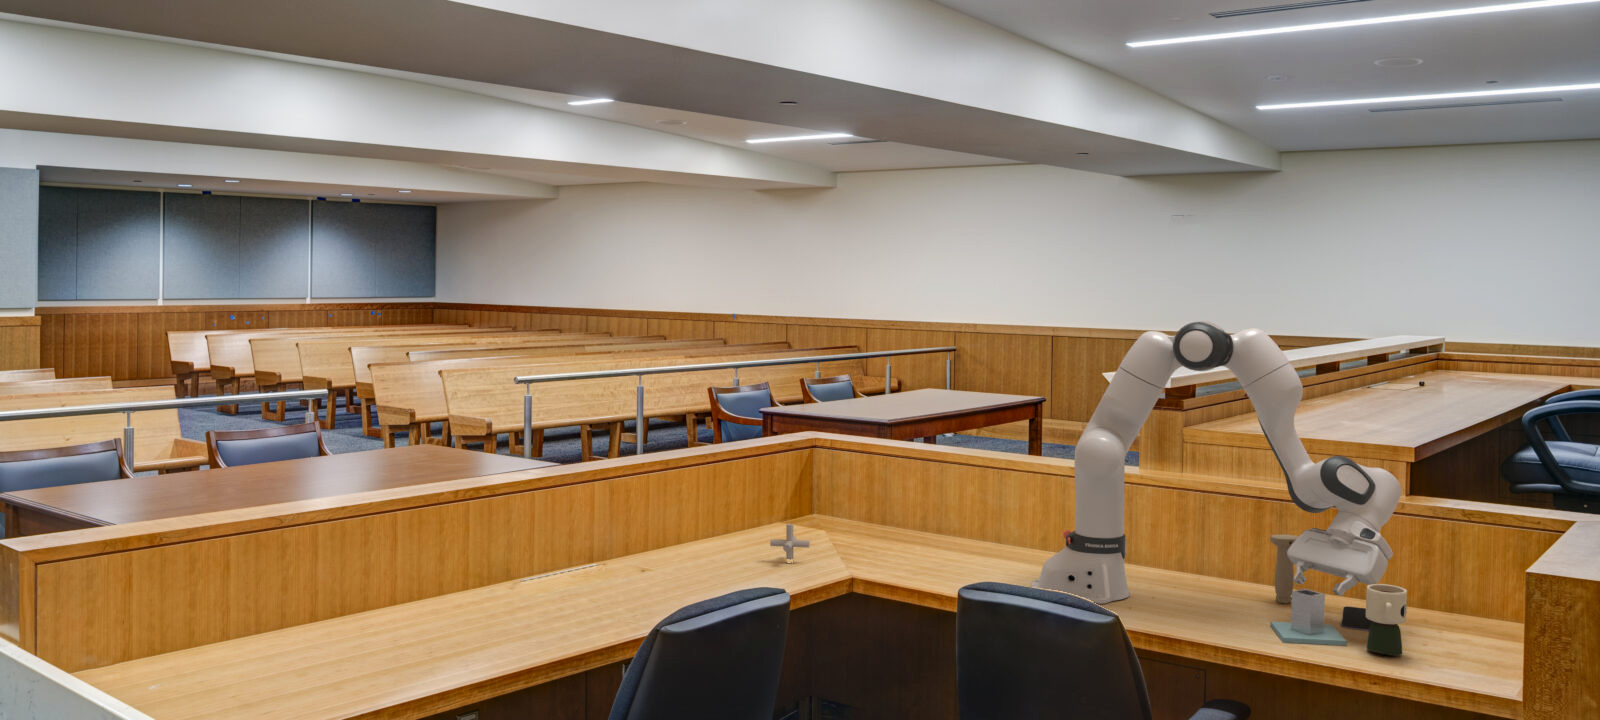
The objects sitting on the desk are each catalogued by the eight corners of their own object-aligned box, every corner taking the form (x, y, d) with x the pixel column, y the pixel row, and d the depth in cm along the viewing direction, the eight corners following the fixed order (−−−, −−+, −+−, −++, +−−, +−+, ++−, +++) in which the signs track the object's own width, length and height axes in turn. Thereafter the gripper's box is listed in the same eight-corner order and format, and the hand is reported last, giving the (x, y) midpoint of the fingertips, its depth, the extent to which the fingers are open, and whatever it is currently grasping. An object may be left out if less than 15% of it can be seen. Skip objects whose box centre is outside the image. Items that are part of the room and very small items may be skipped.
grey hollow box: (1304, 626, 239) (1305, 588, 239) (1323, 632, 235) (1325, 594, 235) (1290, 629, 237) (1292, 591, 237) (1309, 635, 233) (1311, 596, 233)
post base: (1283, 642, 232) (1284, 608, 232) (1270, 626, 243) (1271, 593, 242) (1346, 645, 230) (1347, 611, 229) (1331, 629, 241) (1332, 596, 240)
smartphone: (1340, 626, 242) (1343, 605, 255) (1340, 631, 242) (1343, 610, 255) (1379, 631, 239) (1380, 610, 252) (1379, 636, 239) (1380, 615, 252)
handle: (1302, 604, 259) (1304, 539, 257) (1274, 605, 258) (1276, 539, 257) (1292, 598, 263) (1294, 534, 262) (1264, 599, 263) (1266, 534, 262)
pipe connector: (806, 568, 290) (806, 529, 289) (767, 566, 292) (767, 528, 291) (811, 558, 300) (811, 521, 299) (774, 557, 301) (774, 519, 301)
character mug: (1408, 664, 219) (1410, 597, 218) (1366, 659, 222) (1369, 593, 221) (1401, 647, 229) (1403, 583, 228) (1361, 642, 232) (1364, 579, 231)
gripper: (1301, 517, 249) (1268, 566, 245) (1387, 536, 230) (1353, 590, 227) (1314, 535, 251) (1281, 584, 247) (1401, 556, 233) (1367, 609, 229)
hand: (1316, 587), depth 237 cm, fingers open, 8 cm apart
